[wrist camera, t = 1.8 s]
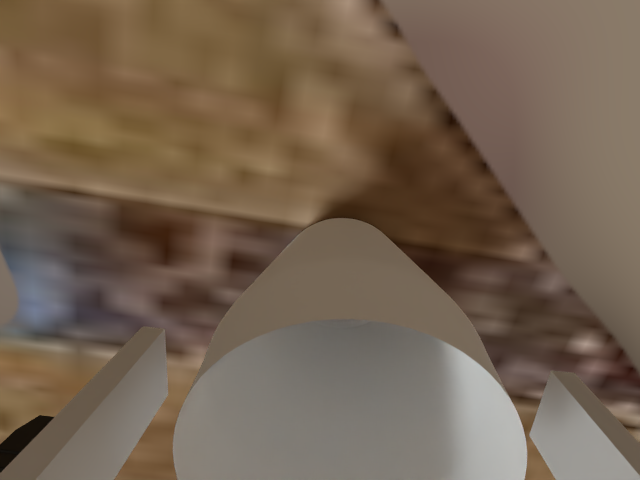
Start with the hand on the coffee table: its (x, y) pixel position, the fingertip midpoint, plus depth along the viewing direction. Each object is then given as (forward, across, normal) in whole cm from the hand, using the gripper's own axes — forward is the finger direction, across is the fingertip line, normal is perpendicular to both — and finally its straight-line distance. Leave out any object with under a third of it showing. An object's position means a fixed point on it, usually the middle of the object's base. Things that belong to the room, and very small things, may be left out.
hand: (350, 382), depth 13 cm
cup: (+8, 0, 0) cm, 9 cm away
